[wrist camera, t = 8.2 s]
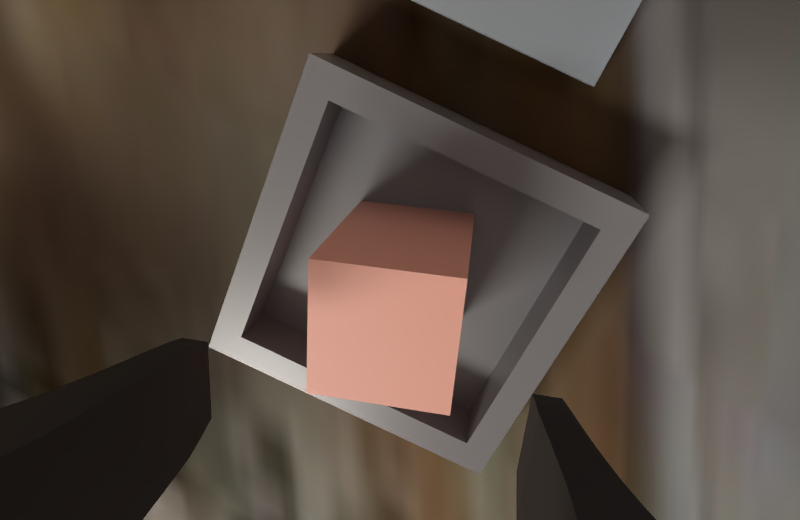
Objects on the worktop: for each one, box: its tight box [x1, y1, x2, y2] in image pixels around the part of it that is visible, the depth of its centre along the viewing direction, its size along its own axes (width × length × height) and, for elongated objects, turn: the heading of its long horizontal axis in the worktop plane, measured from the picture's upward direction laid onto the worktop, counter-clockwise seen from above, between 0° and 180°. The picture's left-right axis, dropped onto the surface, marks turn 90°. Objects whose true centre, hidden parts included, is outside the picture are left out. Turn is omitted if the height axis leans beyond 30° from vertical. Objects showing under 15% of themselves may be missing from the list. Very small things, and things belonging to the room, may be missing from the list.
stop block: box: [306, 201, 475, 416], centre depth 17 cm, size 4×4×6 cm
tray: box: [209, 53, 650, 474], centre depth 19 cm, size 11×11×2 cm
